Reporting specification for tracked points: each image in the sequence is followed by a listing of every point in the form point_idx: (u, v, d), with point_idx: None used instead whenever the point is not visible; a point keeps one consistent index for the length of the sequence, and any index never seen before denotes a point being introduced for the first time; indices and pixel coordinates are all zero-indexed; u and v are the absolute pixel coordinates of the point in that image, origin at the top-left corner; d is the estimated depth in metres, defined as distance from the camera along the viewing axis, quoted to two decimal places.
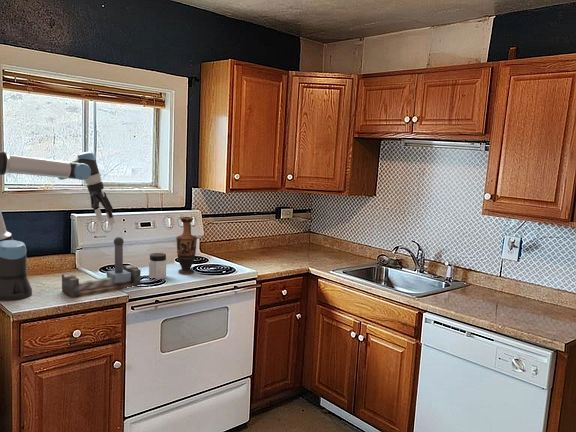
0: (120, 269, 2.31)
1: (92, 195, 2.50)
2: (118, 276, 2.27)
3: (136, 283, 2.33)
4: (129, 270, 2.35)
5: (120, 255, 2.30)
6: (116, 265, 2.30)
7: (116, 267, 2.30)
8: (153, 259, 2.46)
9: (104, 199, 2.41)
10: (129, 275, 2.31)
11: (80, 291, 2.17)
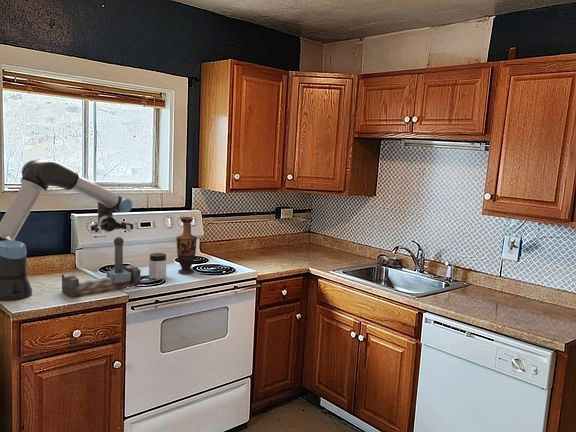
0: (120, 269, 2.31)
1: (98, 224, 2.48)
2: (118, 276, 2.27)
3: (136, 283, 2.33)
4: (129, 270, 2.35)
5: (120, 255, 2.30)
6: (116, 265, 2.30)
7: (116, 267, 2.30)
8: (153, 259, 2.46)
9: None
10: (129, 275, 2.31)
11: (80, 291, 2.17)
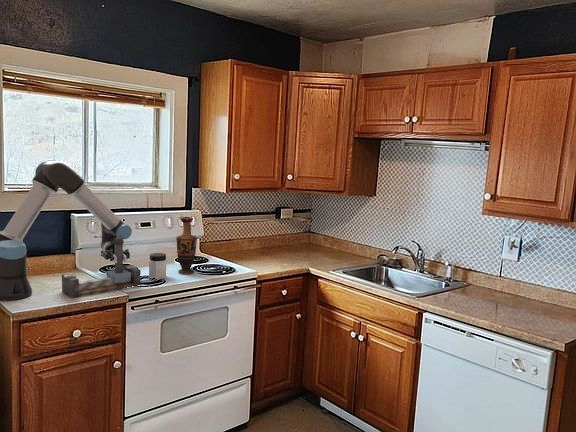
0: (120, 269, 2.31)
1: None
2: (118, 276, 2.27)
3: (136, 283, 2.33)
4: (129, 270, 2.35)
5: (120, 255, 2.30)
6: (116, 265, 2.30)
7: (116, 267, 2.30)
8: (153, 259, 2.46)
9: None
10: (129, 275, 2.31)
11: (80, 291, 2.17)
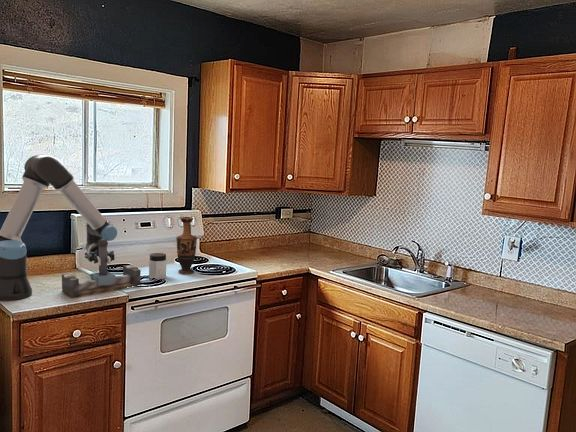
0: (104, 271, 2.25)
1: None
2: (102, 278, 2.22)
3: (136, 283, 2.33)
4: (129, 270, 2.35)
5: (104, 257, 2.24)
6: (100, 267, 2.25)
7: (100, 269, 2.25)
8: (153, 259, 2.46)
9: None
10: (113, 277, 2.26)
11: (80, 291, 2.17)
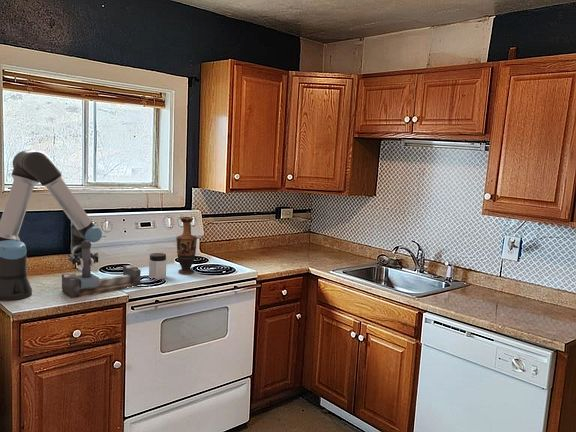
0: (87, 274, 2.20)
1: None
2: (85, 281, 2.17)
3: (136, 283, 2.33)
4: (129, 270, 2.35)
5: (87, 259, 2.19)
6: (83, 270, 2.19)
7: (83, 272, 2.20)
8: (153, 259, 2.46)
9: None
10: (97, 280, 2.21)
11: (80, 291, 2.17)
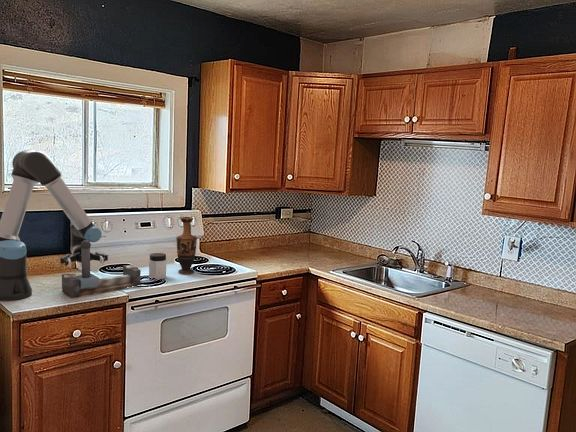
0: (87, 274, 2.20)
1: (69, 256, 2.27)
2: (85, 281, 2.17)
3: (136, 283, 2.33)
4: (129, 270, 2.35)
5: (87, 259, 2.19)
6: (83, 270, 2.19)
7: (83, 272, 2.19)
8: (153, 259, 2.46)
9: None
10: (97, 280, 2.21)
11: (80, 291, 2.17)
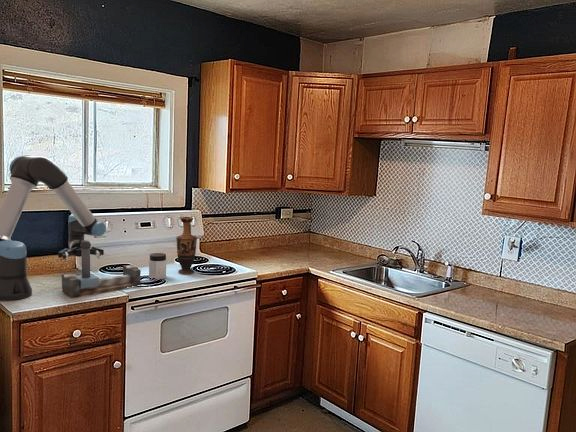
0: (87, 274, 2.20)
1: (67, 250, 2.38)
2: (85, 281, 2.17)
3: (136, 283, 2.33)
4: (129, 270, 2.35)
5: (87, 259, 2.19)
6: (83, 270, 2.19)
7: (83, 272, 2.19)
8: (153, 259, 2.46)
9: None
10: (97, 280, 2.21)
11: (80, 291, 2.17)
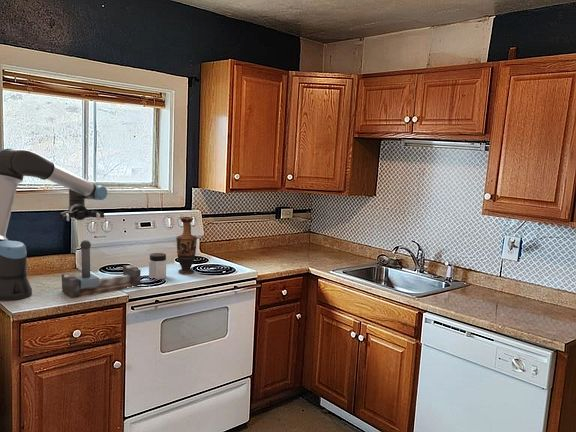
0: (87, 274, 2.20)
1: (67, 212, 2.40)
2: (85, 281, 2.17)
3: (136, 283, 2.33)
4: (129, 270, 2.35)
5: (87, 259, 2.19)
6: (83, 270, 2.19)
7: (83, 272, 2.19)
8: (153, 259, 2.46)
9: None
10: (97, 280, 2.21)
11: (80, 291, 2.17)
